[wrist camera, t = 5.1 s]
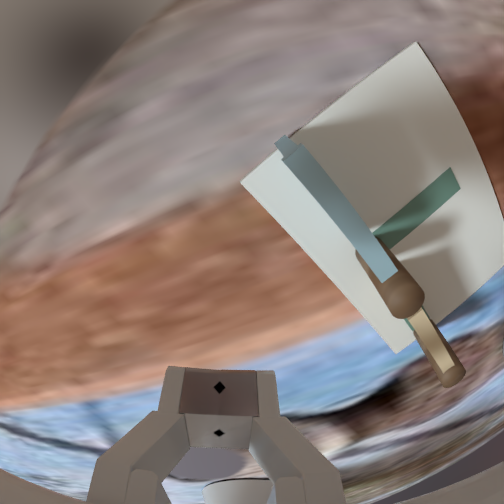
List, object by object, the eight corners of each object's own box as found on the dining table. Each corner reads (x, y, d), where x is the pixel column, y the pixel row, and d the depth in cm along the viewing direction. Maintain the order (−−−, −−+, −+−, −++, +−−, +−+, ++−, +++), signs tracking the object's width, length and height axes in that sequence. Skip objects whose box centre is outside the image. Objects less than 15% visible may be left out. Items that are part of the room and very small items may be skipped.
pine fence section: (434, 324, 26) (468, 375, 20) (416, 338, 27) (446, 391, 20) (372, 227, 21) (416, 278, 15) (347, 246, 22) (383, 304, 16)
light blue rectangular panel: (364, 229, 20) (398, 270, 16) (351, 239, 21) (381, 283, 16) (285, 131, 17) (303, 144, 13) (270, 143, 18) (282, 161, 13)
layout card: (510, 253, 23) (513, 256, 22) (394, 351, 27) (396, 354, 27) (413, 42, 15) (417, 41, 15) (240, 180, 20) (239, 182, 19)
